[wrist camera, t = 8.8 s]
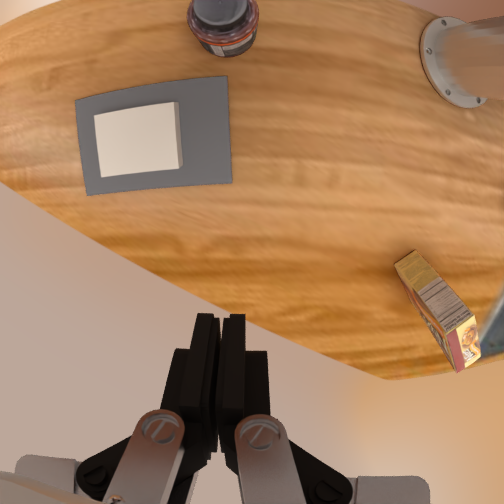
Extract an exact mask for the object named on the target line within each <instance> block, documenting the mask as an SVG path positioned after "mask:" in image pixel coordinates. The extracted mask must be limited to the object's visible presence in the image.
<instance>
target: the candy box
mask: <svg viewBox="0 0 504 504" xmlns="http://www.w3.org/2000/svg"><path fill="white" fill-rule="evenodd" d="M394 266H395V268H396V270H397V272H398V275H399V277H400V279H401V281H402V283H403V286H404V288H405V290H406V292H407V294H408V296H409V299H410V301H411V303H412V305H413V306H414V307H415V309H416V310H417V312H418V313H419V315H420V316H421V318H422V319H423V321H424V322H425V324H426V325H427V327H428V328H429V330H430V331H431V333H432V334H433V336H434V338H435V339H436V341H437V342H438V344H439V346H440V347H441V349H442V350H443V352H444V354H445V355H446V357H447V359H448V360H449V362H450V364H451V365H452V367H453V369H454V370H455V372H456V373H458V372H460V371H461V370H463V369H464V368H466V367H467V366H469V365H470V364H472V363H473V362H474V361H476V360H477V359H478V358H479V357H481V349H480V343H479V336H478V331H477V325H476V320H475V315H474V314H473V313H472V312H471V310H470V309H469V308H468V307H467V306H466V305H465V303H464V302H463V301H462V300H461V299H460V298H459V296H458V295H457V294H456V293H455V292H454V291H453V289H452V288H451V287H450V286H449V285H448V284H447V283H446V282H445V281H444V280H443V278H442V277H441V276H440V275H439V274H438V273H437V272H436V271H435V270H434V269H433V267H432V266H431V265H430V264H429V263H428V262H427V261H426V260H425V259H424V258H423V257H422V256H421V255H420V254H419V253H418V252H417V251H416V250H414V251H413V252H412V253H410V254H409V255H407V256H406V257H404V258H403V259H401V260H400V261H398V262H397V263H395V264H394Z"/></svg>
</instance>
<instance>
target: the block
mask: <svg viewBox="0 0 504 504" xmlns="http://www.w3.org/2000/svg"><path fill="white" fill-rule="evenodd" d="M94 121H95V131H96V141H97V149H98V157H99V165H100V172H101V177H108V176H115V175H123V174H131V173H140V172H149V171H159V170H170V169H179V168H180V167H181V166H182V165H183V157H182V145H181V132H180V117H179V102H170V103H162V104H155V105H148V106H142V107H136V108H130V109H124V110H119V111H114V112H108V113H104V114H99V115H94Z"/></svg>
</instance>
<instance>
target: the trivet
mask: <svg viewBox="0 0 504 504" xmlns="http://www.w3.org/2000/svg"><path fill="white" fill-rule="evenodd" d="M170 102H179V117H180V132H181V145H182V157H183V165H182V166H181V167H180V168H179V169H170V170H159V171H149V172H140V173H131V174H123V175H115V176H108V177H101V172H100V165H99V157H98V149H97V141H96V131H95V121H94V115H99V114H104V113H108V112H114V111H119V110H124V109H130V108H136V107H142V106H148V105H155V104H162V103H170ZM75 107H76V119H77V130H78V139H79V147H80V155H81V162H82V169H83V176H84V182H85V188H86V193H87V196H91V195H99V194H107V193H116V192H125V191H135V190H145V189H156V188H168V187H180V186H194V185H210V184H228V183H232V167H231V147H230V127H229V105H228V81H227V76H218V77H206V78H195V79H186V80H178V81H170V82H163V83H156V84H150V85H144V86H138V87H132V88H127V89H122V90H117V91H112V92H108V93H103V94H99V95H95V96H91V97H87V98H83V99H79V100H75Z"/></svg>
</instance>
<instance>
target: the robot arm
mask: <svg viewBox="0 0 504 504" xmlns="http://www.w3.org/2000/svg"><path fill="white" fill-rule="evenodd" d="M420 53H421V59H422V64H423V67H424V70H425V72H426V74H427V77H428V79H429V81H430V82H431V84H432V85H433V87H434V88H435V90H436V91H437V92H438V93H439V94H440V95H441V96H442V97H443V98H444V99H445V100H446V101H448V102H450V103H451V104H453V105H456V106H458V107H463V108H475V107H479V106H480V105H482V104H483V103H485V101H486V100H487V99H497V100H504V16H500V17H495V18H489V19H484V20H479V21H474V22H470V23H466V22H464V21H462V20H460V19H458V18H454V17H441V18H437V19H435V20H433V21H431V22H430V23H429V24H428V25H427V26H426V28H425V29H424V31H423V34H422V36H421V43H420ZM218 434H219V440H220V446H221V452H222V453H225V459H226V466H227V467H228V468H229V469H231V470H232V471H233V472H234V473H235V474H237V476H238V483H239V488H240V494H241V500H242V504H430V489H429V486H428V484H427V482H426V481H425V480H424V479H422V478H421V477H418V476H386V477H385V476H375V477H374V476H358V477H357V478H346V477H345V476H344V475H342V474H341V473H339V472H337V471H336V470H334V469H332V468H331V467H329V466H328V465H326V464H324V463H323V462H321V461H320V460H318V459H317V458H315V457H314V456H312V455H311V454H309V453H308V452H306V451H305V450H303V449H302V448H300V447H299V446H297V445H296V444H295V443H293V442H292V441H290V440H289V439H288V437H287V433H286V430H285V428H284V426H283V424H282V423H281V422H280V421H279V420H278V419H276V418H274V417H272V416H271V415H270V397H269V377H268V359H267V351H246V348H245V314H230V318H224V321H223V330H222V338H221V334H220V320H219V318H214V314H210V313H198V314H197V318H196V322H195V327H194V331H193V336H192V341H191V345H190V349H179V348H176V349H175V352H174V355H173V358H172V362H171V366H170V370H169V374H168V378H167V382H166V386H165V390H164V394H163V398H162V402H161V407H160V409H158V410H153V411H150V412H148V413H146V414H145V415H143V416H142V417H141V418H140V420H139V421H138V423H137V425H136V427H135V430H134V432H133V434H132V435H131V436H130V437H128V438H126V439H124V440H122V441H121V442H119V443H117V444H115V445H113V446H111V447H109V448H107V449H105V450H104V451H102V452H100V453H98V454H96V455H94V456H92V457H90V458H88V459H87V460H85V461H83V462H79V461H76V460H75V459H66V458H55V457H45V456H38V455H25V456H23V457H21V458H20V459H19V460H18V461H17V464H16V468H15V473H10V472H2V471H0V504H190V500H191V497H192V493H193V490H194V487H195V483H196V480H197V476H198V470H200V469H201V468H203V467H204V466H206V465H207V460H210V459H211V452H217V446H218Z"/></svg>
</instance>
